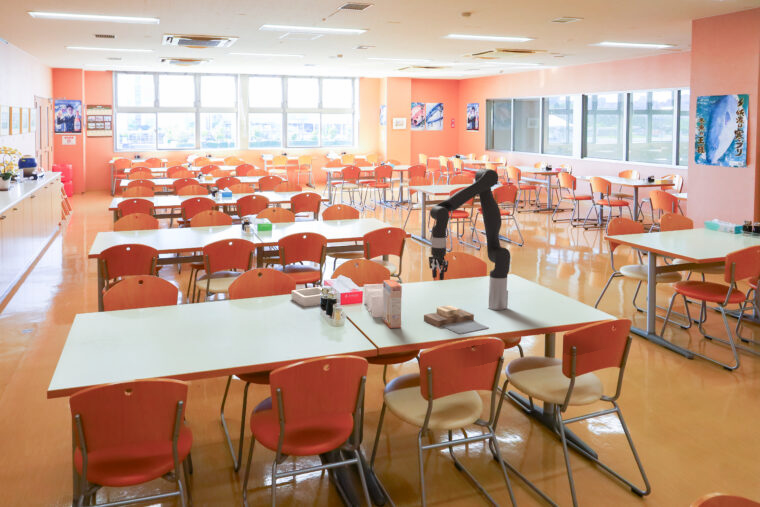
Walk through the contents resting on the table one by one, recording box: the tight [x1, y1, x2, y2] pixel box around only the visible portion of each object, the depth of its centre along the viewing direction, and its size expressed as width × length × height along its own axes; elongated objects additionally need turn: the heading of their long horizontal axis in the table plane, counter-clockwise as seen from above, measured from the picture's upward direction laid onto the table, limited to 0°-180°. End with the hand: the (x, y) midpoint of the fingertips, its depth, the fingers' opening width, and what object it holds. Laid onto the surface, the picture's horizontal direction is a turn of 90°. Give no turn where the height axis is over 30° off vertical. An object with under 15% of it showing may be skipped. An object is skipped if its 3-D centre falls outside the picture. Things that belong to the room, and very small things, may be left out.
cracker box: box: [382, 279, 403, 329], centre depth 314 cm, size 14×6×21 cm, turn 14°
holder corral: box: [291, 286, 323, 307], centre depth 356 cm, size 17×17×5 cm
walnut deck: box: [423, 308, 475, 328], centre depth 322 cm, size 22×12×3 cm, turn 121°
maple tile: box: [436, 304, 460, 317], centre depth 322 cm, size 8×8×3 cm
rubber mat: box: [441, 320, 490, 335], centre depth 312 cm, size 18×15×1 cm
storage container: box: [363, 283, 383, 318], centre depth 339 cm, size 25×11×11 cm, turn 11°
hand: (437, 278), depth 327 cm, fingers open, 5 cm apart
